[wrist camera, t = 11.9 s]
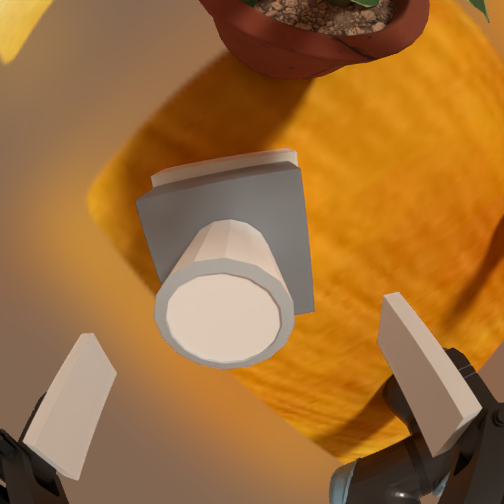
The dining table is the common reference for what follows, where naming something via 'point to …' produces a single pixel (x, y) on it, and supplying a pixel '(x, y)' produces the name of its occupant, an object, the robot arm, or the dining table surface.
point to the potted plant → (317, 32)
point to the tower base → (222, 165)
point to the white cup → (225, 299)
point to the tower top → (236, 208)
